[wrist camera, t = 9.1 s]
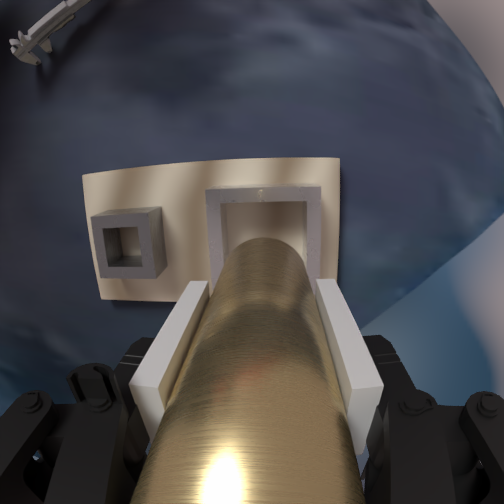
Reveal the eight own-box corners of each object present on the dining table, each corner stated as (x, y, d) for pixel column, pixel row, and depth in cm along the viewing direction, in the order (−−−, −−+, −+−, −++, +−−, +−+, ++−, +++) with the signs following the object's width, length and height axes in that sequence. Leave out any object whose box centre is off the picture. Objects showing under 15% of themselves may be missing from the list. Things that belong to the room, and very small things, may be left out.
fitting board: (335, 158, 24) (349, 158, 20) (332, 292, 28) (342, 316, 24) (90, 173, 26) (63, 178, 21) (107, 293, 29) (86, 312, 25)
